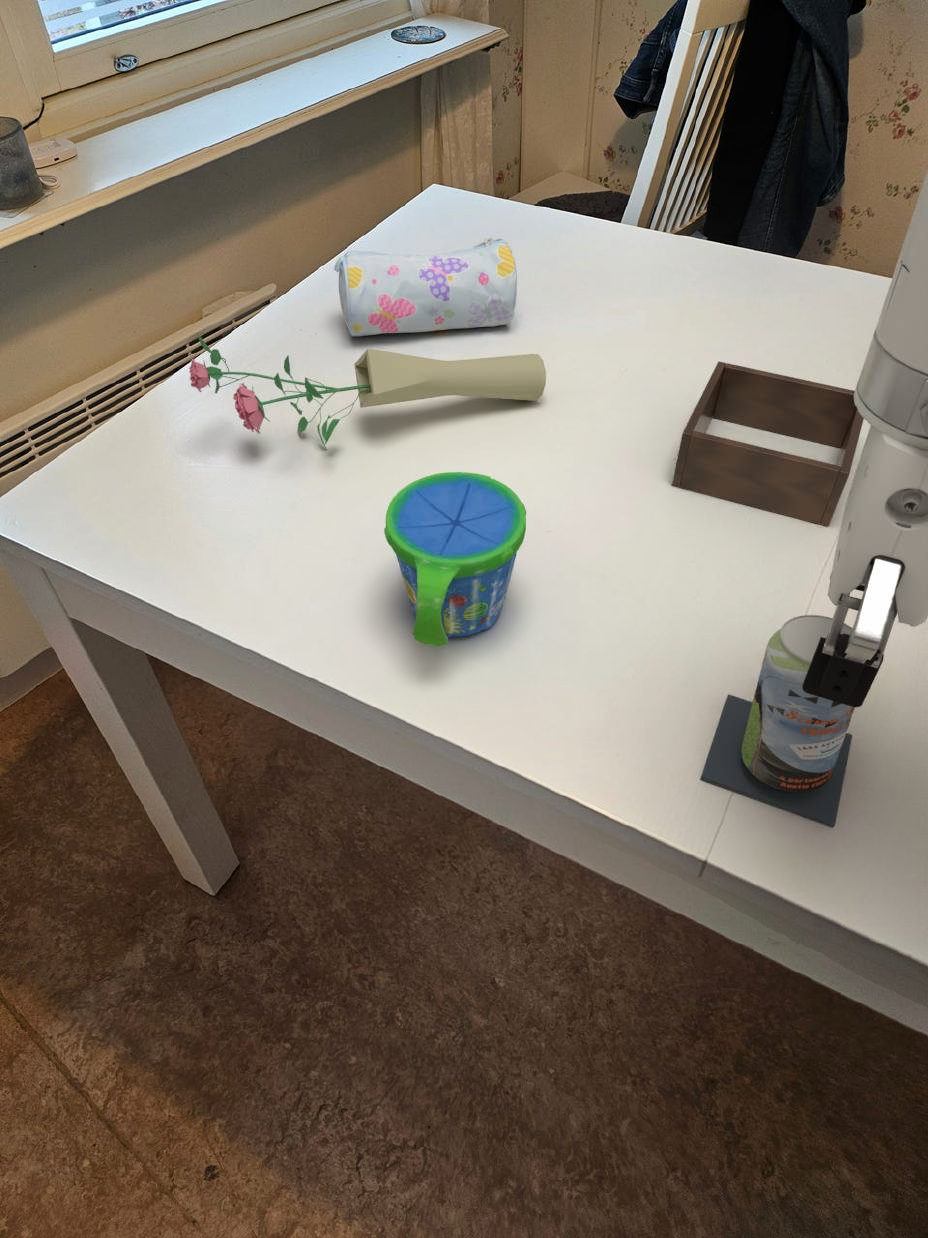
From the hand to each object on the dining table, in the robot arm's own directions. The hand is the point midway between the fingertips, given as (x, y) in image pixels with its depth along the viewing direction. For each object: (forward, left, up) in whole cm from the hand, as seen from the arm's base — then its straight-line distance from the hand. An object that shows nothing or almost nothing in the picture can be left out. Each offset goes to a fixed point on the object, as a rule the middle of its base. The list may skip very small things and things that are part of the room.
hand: (843, 638), depth 52 cm
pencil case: (+51, -45, -14) cm, 69 cm away
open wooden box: (+9, -34, -13) cm, 38 cm away
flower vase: (+46, -24, -14) cm, 53 cm away
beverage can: (+1, 0, -13) cm, 13 cm away
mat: (+1, 0, -13) cm, 13 cm away
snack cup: (+28, -4, -14) cm, 31 cm away
